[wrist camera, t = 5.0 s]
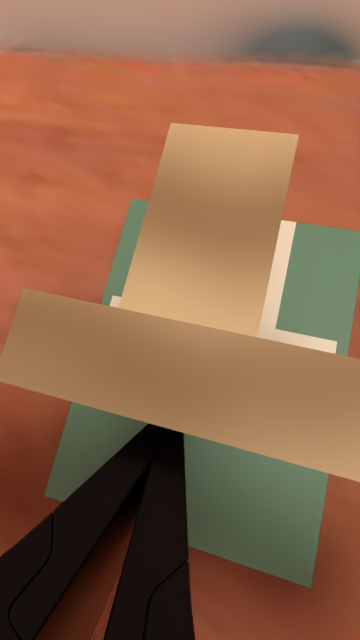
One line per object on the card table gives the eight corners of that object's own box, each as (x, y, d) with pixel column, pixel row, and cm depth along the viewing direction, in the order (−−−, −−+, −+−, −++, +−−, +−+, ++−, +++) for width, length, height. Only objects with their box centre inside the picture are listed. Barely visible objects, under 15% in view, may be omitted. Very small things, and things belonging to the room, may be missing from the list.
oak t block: (296, 437, 15) (368, 484, 7) (106, 387, 16) (-8, 379, 9) (326, 266, 16) (413, 145, 8) (148, 236, 18) (82, 114, 10)
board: (308, 582, 14) (311, 588, 13) (49, 492, 16) (43, 495, 16) (362, 237, 17) (366, 232, 16) (134, 203, 19) (131, 198, 18)
